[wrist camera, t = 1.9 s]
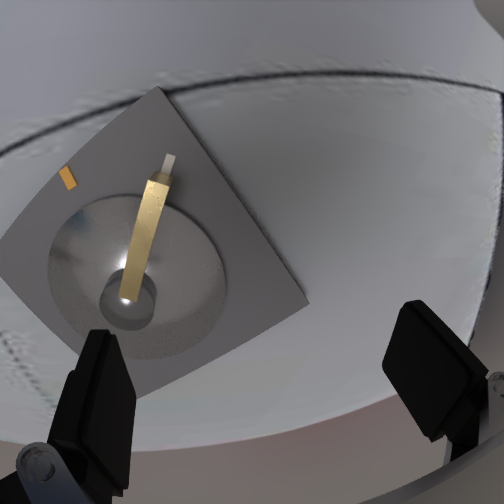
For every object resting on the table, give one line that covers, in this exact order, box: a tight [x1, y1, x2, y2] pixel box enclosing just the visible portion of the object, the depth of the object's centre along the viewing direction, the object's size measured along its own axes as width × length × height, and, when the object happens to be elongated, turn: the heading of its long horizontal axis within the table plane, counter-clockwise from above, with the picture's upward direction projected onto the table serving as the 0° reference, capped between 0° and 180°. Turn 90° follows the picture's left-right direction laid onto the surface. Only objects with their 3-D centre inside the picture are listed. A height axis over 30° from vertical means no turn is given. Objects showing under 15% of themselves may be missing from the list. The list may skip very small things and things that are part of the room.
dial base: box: [0, 86, 310, 399], centre depth 29 cm, size 26×26×2 cm
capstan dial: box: [47, 171, 226, 360], centre depth 26 cm, size 20×18×4 cm
